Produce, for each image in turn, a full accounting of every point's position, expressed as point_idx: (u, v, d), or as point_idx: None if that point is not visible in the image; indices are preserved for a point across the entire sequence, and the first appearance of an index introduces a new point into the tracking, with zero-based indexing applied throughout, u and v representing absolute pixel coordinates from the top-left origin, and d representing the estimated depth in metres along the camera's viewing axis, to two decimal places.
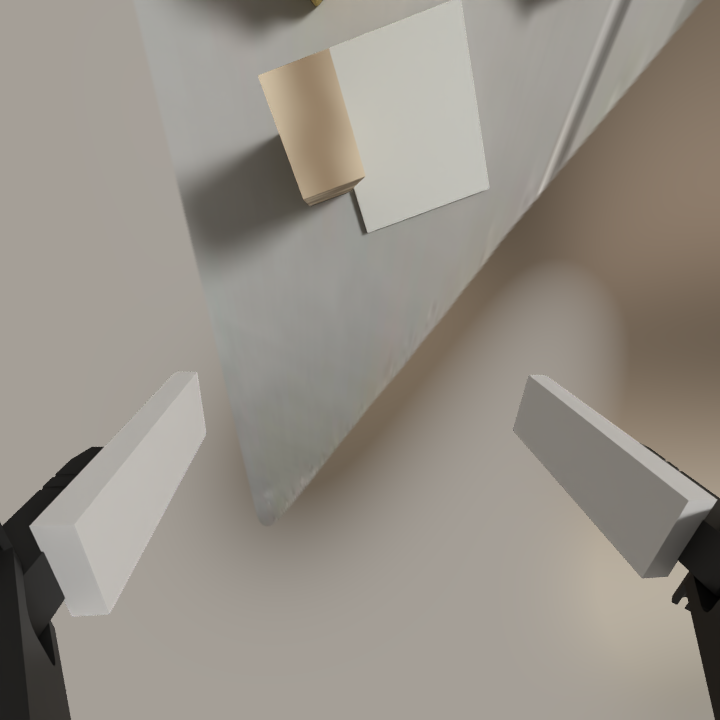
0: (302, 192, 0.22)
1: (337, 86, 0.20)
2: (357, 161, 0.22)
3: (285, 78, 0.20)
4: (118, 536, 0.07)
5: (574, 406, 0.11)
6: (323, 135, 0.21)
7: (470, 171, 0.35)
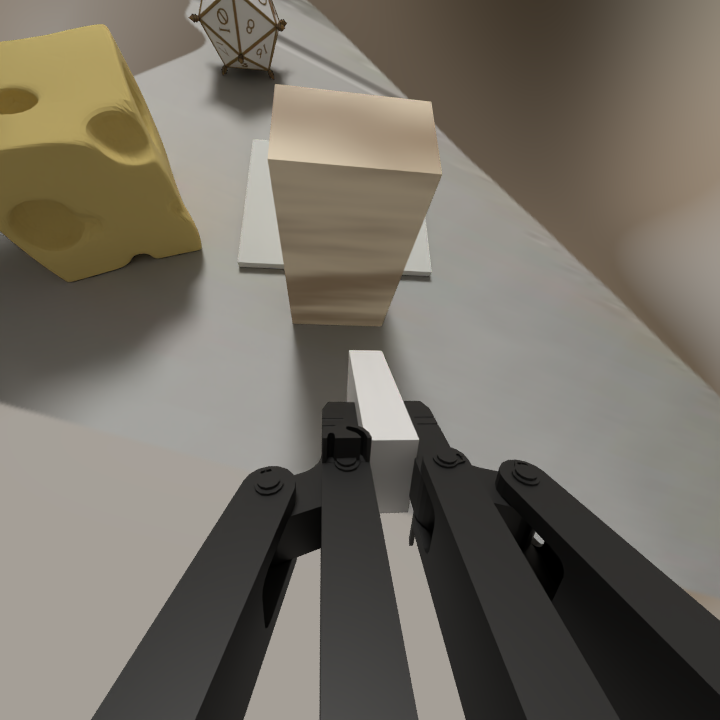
0: (432, 171, 0.14)
1: (318, 91, 0.15)
2: (410, 103, 0.15)
3: (285, 133, 0.13)
4: None
5: (377, 374, 0.13)
6: (367, 122, 0.14)
7: None
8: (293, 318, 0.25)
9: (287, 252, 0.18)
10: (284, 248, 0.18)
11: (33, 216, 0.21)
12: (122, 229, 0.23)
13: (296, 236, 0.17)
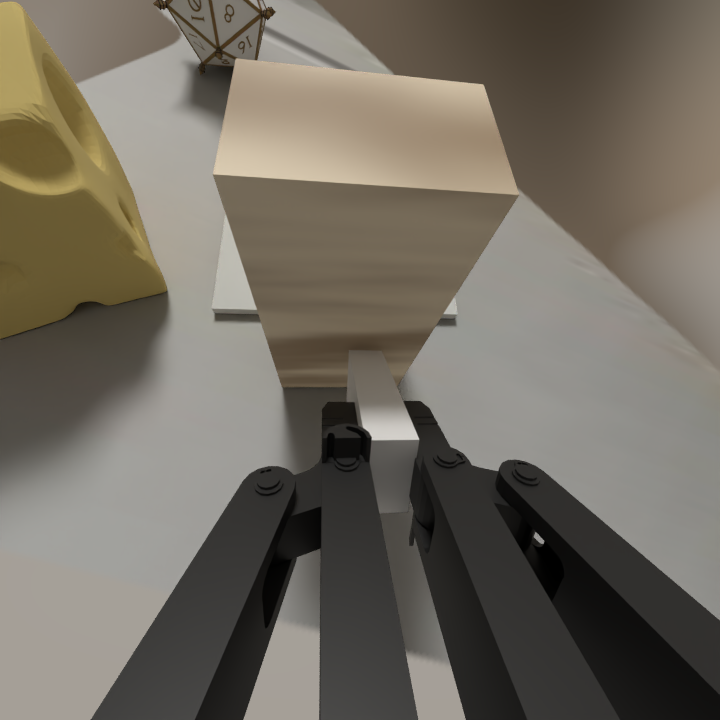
0: (501, 190, 0.08)
1: (305, 69, 0.09)
2: (452, 86, 0.10)
3: (247, 131, 0.08)
4: None
5: (377, 374, 0.13)
6: (386, 115, 0.09)
7: None
8: (282, 382, 0.19)
9: (266, 311, 0.12)
10: (260, 306, 0.12)
11: None
12: (52, 276, 0.17)
13: (277, 291, 0.11)
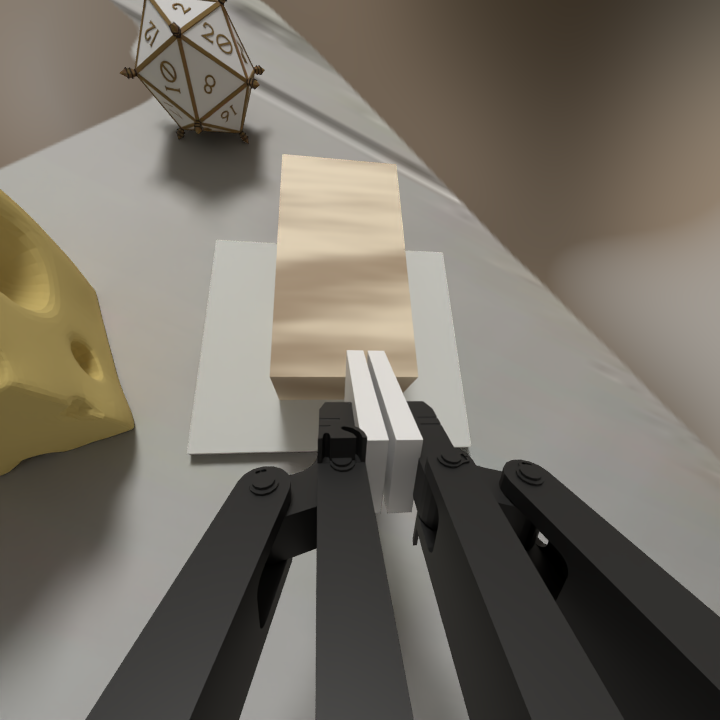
0: (389, 165, 0.21)
1: None
2: None
3: None
4: None
5: (380, 374, 0.13)
6: None
7: (415, 270, 0.24)
8: (273, 359, 0.15)
9: (284, 227, 0.18)
10: (281, 222, 0.18)
11: None
12: None
13: (294, 210, 0.19)
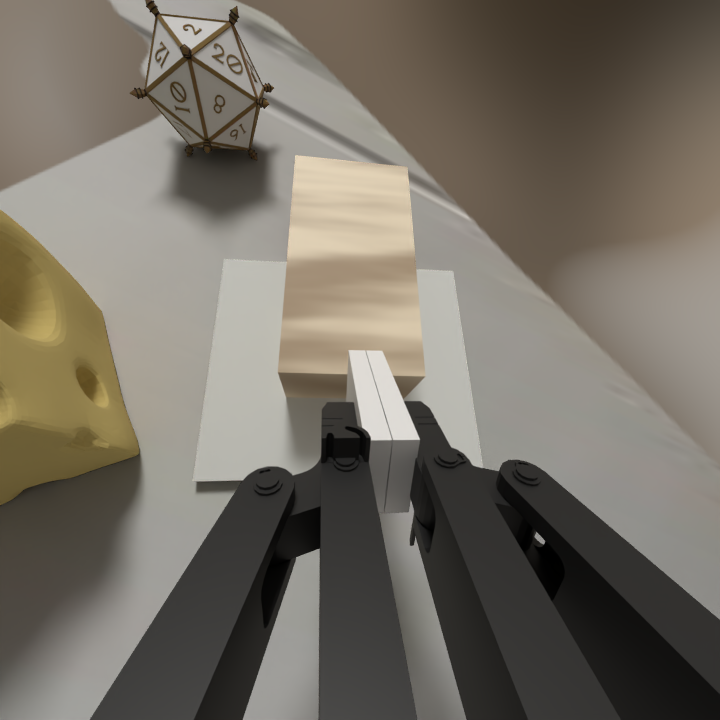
0: (400, 167, 0.21)
1: None
2: None
3: None
4: None
5: (378, 374, 0.13)
6: None
7: (425, 289, 0.23)
8: (281, 355, 0.16)
9: (295, 226, 0.18)
10: (293, 221, 0.18)
11: None
12: None
13: (306, 209, 0.19)
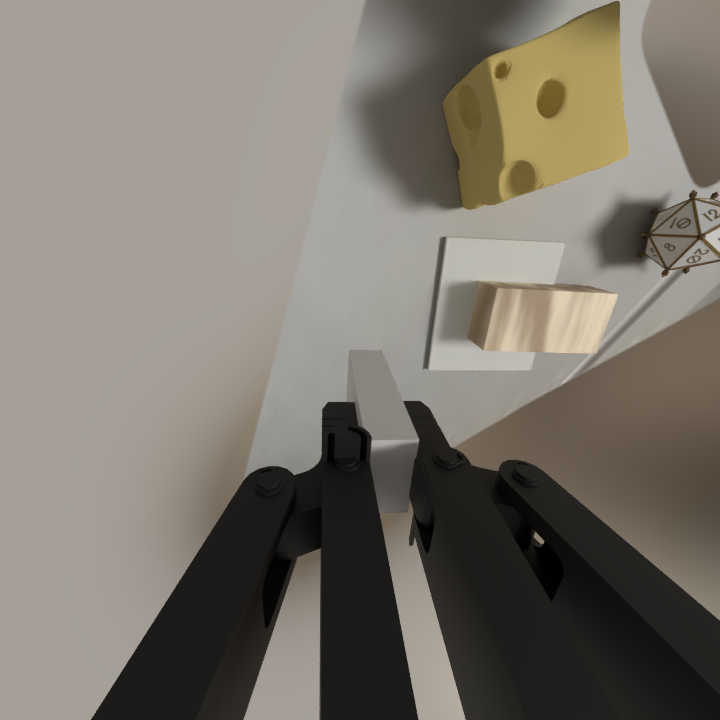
0: (597, 349, 0.39)
1: None
2: None
3: None
4: None
5: (377, 374, 0.13)
6: None
7: (522, 354, 0.43)
8: (504, 289, 0.35)
9: (571, 294, 0.36)
10: (574, 293, 0.36)
11: None
12: (469, 158, 0.31)
13: (580, 300, 0.36)
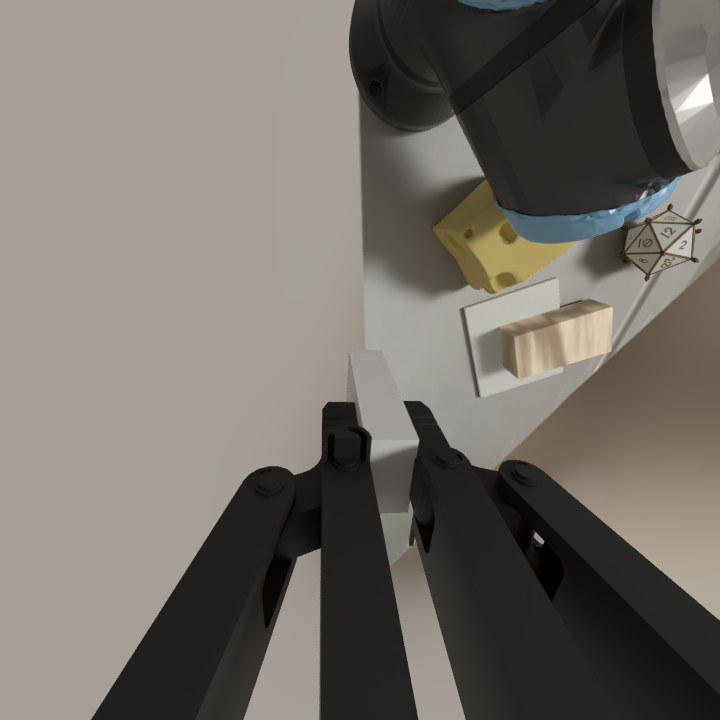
0: (610, 348, 0.48)
1: None
2: None
3: None
4: None
5: (377, 374, 0.13)
6: None
7: None
8: (520, 335, 0.46)
9: (573, 320, 0.46)
10: (576, 319, 0.46)
11: None
12: (464, 263, 0.43)
13: (582, 321, 0.46)
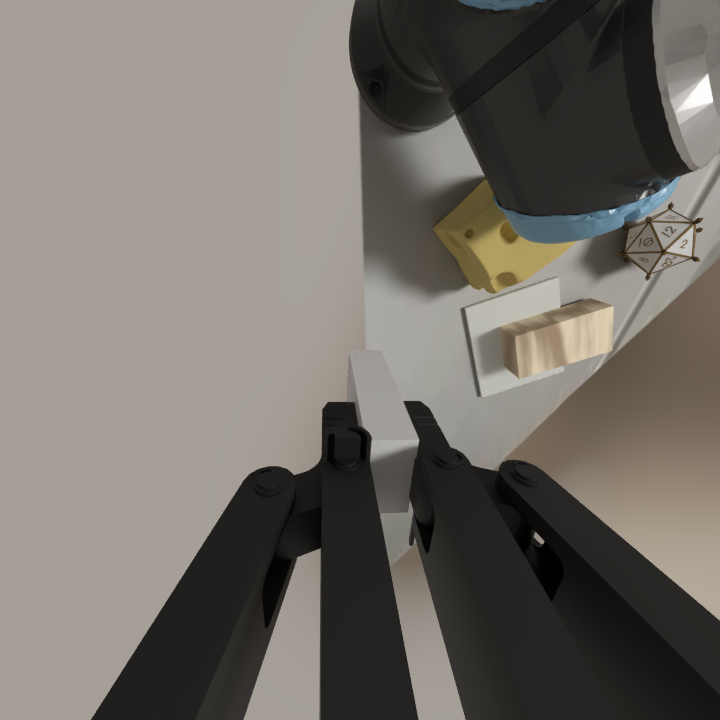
0: (611, 347, 0.48)
1: None
2: None
3: None
4: None
5: (377, 374, 0.13)
6: None
7: None
8: (520, 335, 0.46)
9: (574, 320, 0.46)
10: (576, 318, 0.46)
11: None
12: (464, 263, 0.43)
13: (583, 320, 0.46)
